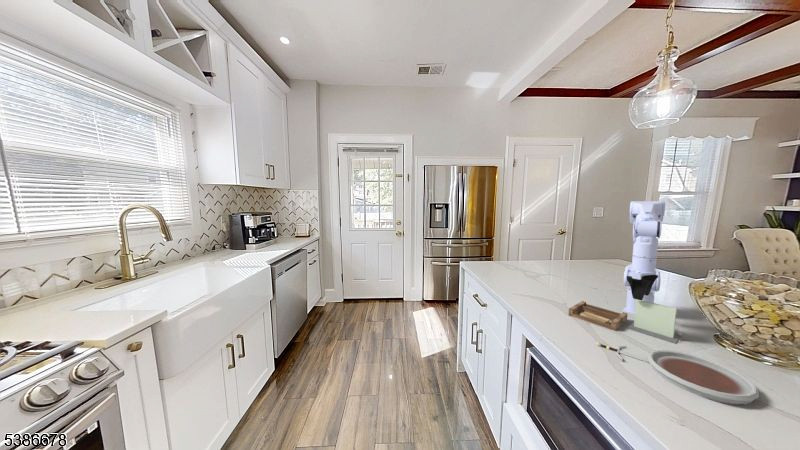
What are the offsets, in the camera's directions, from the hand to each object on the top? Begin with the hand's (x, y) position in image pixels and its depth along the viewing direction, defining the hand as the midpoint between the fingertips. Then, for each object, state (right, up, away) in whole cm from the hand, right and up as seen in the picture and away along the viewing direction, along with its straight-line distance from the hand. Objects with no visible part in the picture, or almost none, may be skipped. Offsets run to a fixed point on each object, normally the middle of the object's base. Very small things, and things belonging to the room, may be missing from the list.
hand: (640, 296), depth 84 cm
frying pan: (-13, -13, -20) cm, 27 cm away
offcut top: (-11, -10, +5) cm, 16 cm away
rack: (-9, -10, +7) cm, 15 cm away
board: (+1, -10, -3) cm, 11 cm away
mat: (+1, -11, -3) cm, 11 cm away
